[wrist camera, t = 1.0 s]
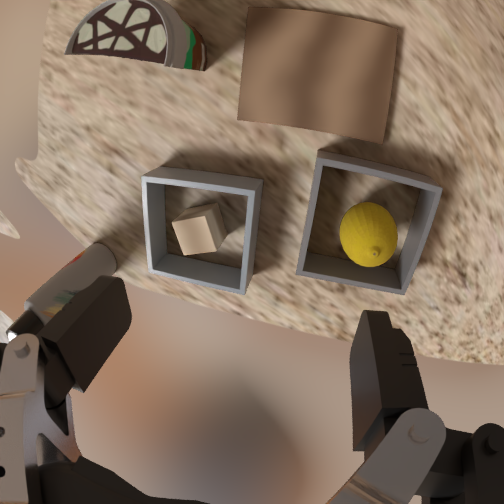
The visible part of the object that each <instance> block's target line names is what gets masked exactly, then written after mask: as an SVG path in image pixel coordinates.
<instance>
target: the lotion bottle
mask: <svg viewBox="0 0 504 504" xmlns="http://www.w3.org/2000/svg"><path fill="white" fill-rule="evenodd" d="M116 267H117V265H116V260H115V257H114V255H113V253H112V252H111V251H110V250H109V249H108V248H107V247H106V246H104V245H103V244H100V243H95V244H92V245H91V246H89V247H88V248H86V249H85V250H84V251H83V252H81V253H80V254H79V255H78V256H77V257H75V258H74V259H73V260H72V261H70V262H69V263H68V264H67V265H66V266H64V267H63V268H62V269H61V270H60V271H59V272H57V273H56V274H55V275H54V276H53V277H51V278H50V279H49V280H48V281H47V282H46V283H45V284H43V285H42V286H41V287H40V288H39V289H38V290H37V291H36V292H35V293H34V294H32V295H31V297H29V298H28V299H27V300H26V302H25V304H24V308H25V312H24V313H23V314H22V315H21V316H20V317H19V318H18V319H17V320H16V321H15V322H14V323H13V324H12V325H11V326H10V327H9V328H8V329H7V331H6V334H7V336H8V340H9V342H10V341H11V340H12V339H13V338H15V337H16V336H19V335H21V334H33V335H36V334H37V333H38V332H39V331H40V330H41V329H42V328H43V327H44V326H45V325H46V324H47V323H48V322H49V321H50V320H51V319H52V318H53V317H54V315H55V314H56V313H57V312H58V311H59V310H62V307H63V306H64V305H65V304H66V303H69V300H70V299H71V298H72V297H73V296H74V295H75V294H76V293H78V292H79V291H81V290H83V289H85V288H86V287H88V286H90V285H91V284H92V283H93V282H94V281H95V280H96V279H97V278H98V277H99V276H101V275H107V276H112V275H113V274H114V273H115V271H116Z"/></svg>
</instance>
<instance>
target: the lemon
mask: <svg viewBox="0 0 504 504" xmlns="http://www.w3.org/2000/svg"><path fill="white" fill-rule="evenodd" d="M397 240H398V234H397V227H396V224H395V222H394V219H393V217H392V216H391V215H390V213H389V212H388V211H387V210H386V209H385V208H383V207H382V206H380V205H378V204H375V203H371V202H364V203H359V204H357V205H354V206H353V207H351V208H350V209H349V210H348V211H347V212H346V214H345V215H344V217H343V219H342V221H341V225H340V241H341V244H342V246H343V249H344V251H345V252H346V254H347V255H348V257H349V258H350V259H351V260H353V261H354V262H355V263H357V264H359V265H361V266H365V267H375V266H379V265H381V264H383V263H385V262H386V261H387V260H389V259H390V257H391V256H392V255H393V253H394V251H395V249H396V246H397Z"/></svg>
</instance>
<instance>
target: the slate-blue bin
mask: <svg viewBox="0 0 504 504" xmlns="http://www.w3.org/2000/svg"><path fill="white" fill-rule="evenodd" d="M141 179H142V200H143V216H144V229H145V241H146V251H147V261H148V270H149V273H153V274H157V275H161V276H165V277H169V278H173V279H177V280H181V281H185V282H189V283H194V284H198V285H202V286H206V287H211V288H215V289H219V290H224V291H228V292H233V293H237V294H242V295H245V293H246V291H247V288H248V286H249V283H250V281H251V278H252V276H253V268H254V259H255V251H256V242H257V233H258V224H259V215H260V206H261V197H262V188H263V179H257V178H251V177H244V176H237V175H230V174H222V173H215V172H207V171H198V170H190V169H180V168H171V167H158V168H156V169H154V170H152V171H150V172H148V173H146V174H144V175H142V176H141ZM165 184H168V185H176V186H183V187H191V188H198V189H205V190H212V191H219V192H226V193H232V194H239V195H245V196H248V203H247V214H246V225H245V236H244V247H243V258H242V269H239V268H234V267H229V266H225V265H220V264H215V263H210V262H206V261H201V260H196V259H192V258H187V257H182V256H178V255H173V254H169V253H167V240H166V218H165Z"/></svg>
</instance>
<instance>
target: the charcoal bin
mask: <svg viewBox="0 0 504 504" xmlns="http://www.w3.org/2000/svg"><path fill="white" fill-rule="evenodd" d="M323 165H324V166H329V167H334V168H339V169H344V170H349V171H353V172H358V173H362V174H367V175H371V176H375V177H379V178H383V179H387V180H391V181H395V182H399V183H403V184H407V185H410V186H414V187H418V188H421V191H420V195H419V198H418V202H417V205H416V209H415V212H414V215H413V219H412V222H411V225H410V228H409V231H408V234H407V237H406V240H405V243H404V246H403V249H402V252H401V254H400V257H399V260H398V263H397V265H396V268H395V269H390V268H385V267H380V266H375V267H365V266H361V265H359V264H357V263H355V262H354V261H350V260H345V259H340V258H335V257H330V256H325V255H320V254H315V253H310V252H307V247H308V242H309V237H310V232H311V227H312V222H313V217H314V212H315V207H316V201H317V196H318V190H319V185H320V179H321V173H322V167H323ZM442 190H443V188H442V187H441V186H440V185H439V184H437V183H436V182H435V181H434V180H433V179H432V178H430V177H429V176H425V175H422V174H418V173H415V172H411V171H408V170H404V169H400V168H397V167H393V166H389V165H385V164H381V163H377V162H373V161H369V160H364V159H360V158H355V157H351V156H346V155H341V154H336V153H331V152H326V151H321V150H318V152H317V158H316V164H315V170H314V177H313V183H312V188H311V194H310V200H309V206H308V211H307V217H306V222H305V227H304V233H303V238H302V243H301V248H300V253H299V259H298V264H297V270H296V275H301V276H306V277H311V278H316V279H321V280H326V281H331V282H336V283H342V284H347V285H352V286H357V287H363V288H368V289H373V290H379V291H384V292H389V293H395V294H400V295H405V292H406V290H407V288H408V286H409V283H410V281H411V278H412V276H413V274H414V271H415V269H416V266H417V264H418V261H419V259H420V256H421V253H422V251H423V248H424V245H425V243H426V240H427V237H428V234H429V231H430V228H431V225H432V222H433V219H434V216H435V213H436V210H437V207H438V204H439V200H440V197H441V193H442Z"/></svg>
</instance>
